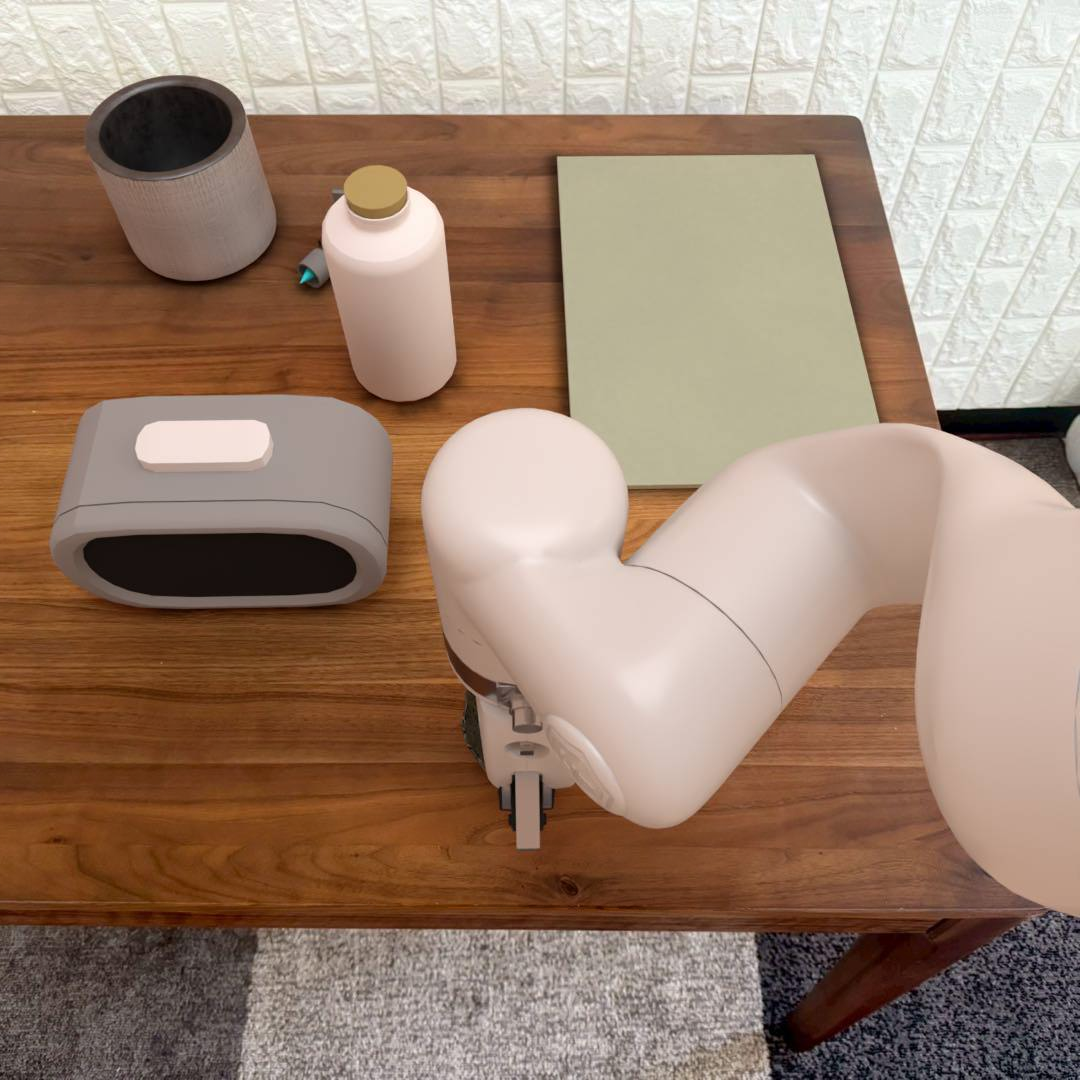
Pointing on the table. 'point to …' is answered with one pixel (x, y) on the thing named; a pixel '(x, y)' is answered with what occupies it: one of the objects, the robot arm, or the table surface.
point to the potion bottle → (391, 284)
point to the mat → (704, 310)
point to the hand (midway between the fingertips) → (525, 738)
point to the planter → (183, 176)
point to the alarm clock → (226, 502)
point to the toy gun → (316, 260)
